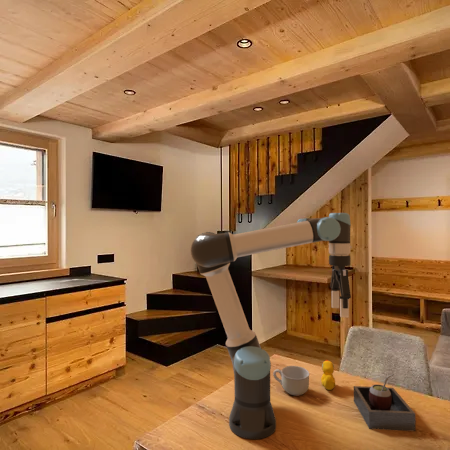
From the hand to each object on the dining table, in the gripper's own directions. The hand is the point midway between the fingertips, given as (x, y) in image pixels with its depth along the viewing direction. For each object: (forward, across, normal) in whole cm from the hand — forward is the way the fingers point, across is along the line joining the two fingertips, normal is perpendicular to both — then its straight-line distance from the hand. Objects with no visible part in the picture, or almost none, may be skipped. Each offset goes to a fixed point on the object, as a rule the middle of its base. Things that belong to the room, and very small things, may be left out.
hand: (339, 312), depth 124 cm
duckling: (+33, +10, +2) cm, 34 cm away
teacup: (+33, +6, +17) cm, 38 cm away
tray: (+33, -8, -12) cm, 36 cm away
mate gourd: (+32, -8, -12) cm, 35 cm away
